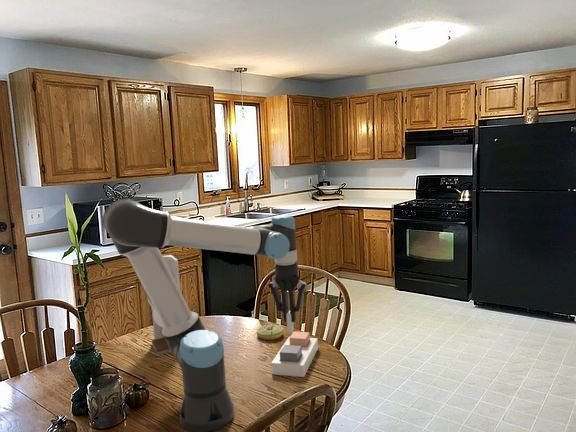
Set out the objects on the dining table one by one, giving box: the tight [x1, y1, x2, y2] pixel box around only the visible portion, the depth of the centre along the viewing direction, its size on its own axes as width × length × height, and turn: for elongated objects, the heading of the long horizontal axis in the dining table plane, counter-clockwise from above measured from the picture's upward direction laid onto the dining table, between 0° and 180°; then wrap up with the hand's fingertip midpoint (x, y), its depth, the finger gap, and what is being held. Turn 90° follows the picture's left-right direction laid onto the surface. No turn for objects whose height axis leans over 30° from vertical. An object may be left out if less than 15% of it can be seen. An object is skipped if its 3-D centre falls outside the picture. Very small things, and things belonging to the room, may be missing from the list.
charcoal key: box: [279, 344, 302, 362], centre depth 154 cm, size 6×6×3 cm
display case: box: [146, 254, 182, 356], centre depth 176 cm, size 11×11×35 cm
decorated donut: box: [255, 323, 284, 341], centre depth 184 cm, size 10×11×4 cm
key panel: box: [270, 336, 319, 378], centre depth 160 cm, size 22×11×4 cm, turn 164°
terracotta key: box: [289, 330, 311, 347], centre depth 165 cm, size 6×6×3 cm
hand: (290, 330), depth 153 cm, fingers closed
